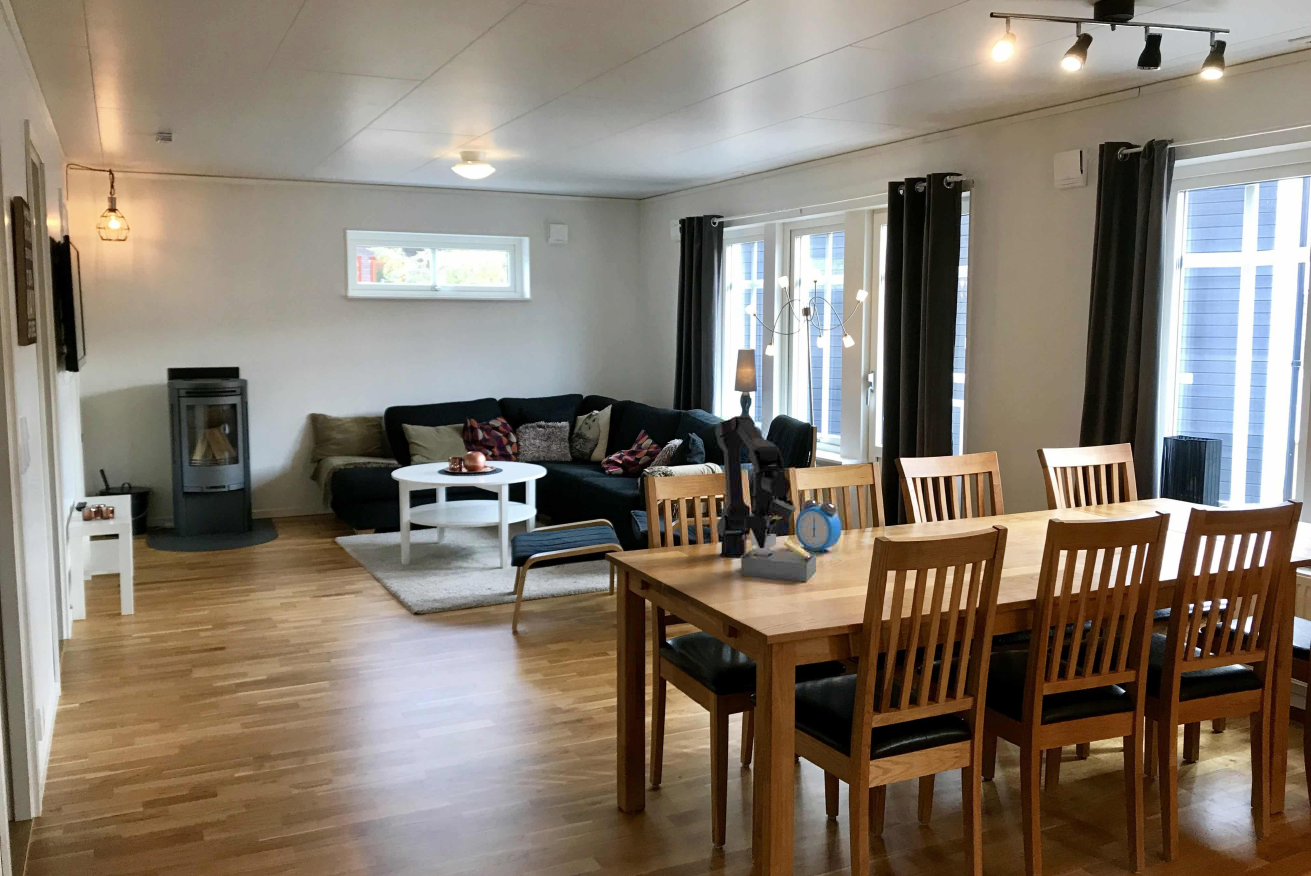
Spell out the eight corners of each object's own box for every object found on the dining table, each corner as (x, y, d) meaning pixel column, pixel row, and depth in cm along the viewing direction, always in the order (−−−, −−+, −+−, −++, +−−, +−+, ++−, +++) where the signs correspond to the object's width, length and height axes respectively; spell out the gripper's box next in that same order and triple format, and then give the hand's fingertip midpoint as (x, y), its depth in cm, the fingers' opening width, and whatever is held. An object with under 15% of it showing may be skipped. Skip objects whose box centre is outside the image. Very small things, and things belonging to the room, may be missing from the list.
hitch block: (741, 575, 281) (741, 557, 280) (752, 565, 292) (753, 548, 292) (806, 582, 275) (807, 563, 274) (815, 571, 286) (816, 554, 285)
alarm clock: (793, 548, 315) (795, 499, 313) (805, 544, 319) (806, 496, 318) (830, 554, 306) (832, 505, 304) (841, 551, 311) (843, 502, 309)
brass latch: (783, 544, 280) (785, 542, 280) (787, 541, 284) (788, 539, 284) (806, 560, 278) (808, 558, 278) (810, 557, 282) (812, 554, 282)
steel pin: (750, 561, 284) (750, 534, 284) (753, 558, 287) (753, 532, 286) (772, 563, 282) (773, 536, 281) (775, 560, 285) (776, 534, 284)
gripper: (785, 498, 271) (784, 556, 273) (800, 487, 288) (799, 542, 290) (744, 495, 275) (743, 553, 277) (761, 484, 292) (760, 539, 294)
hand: (763, 546), depth 284 cm, fingers closed on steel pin, 3 cm apart
